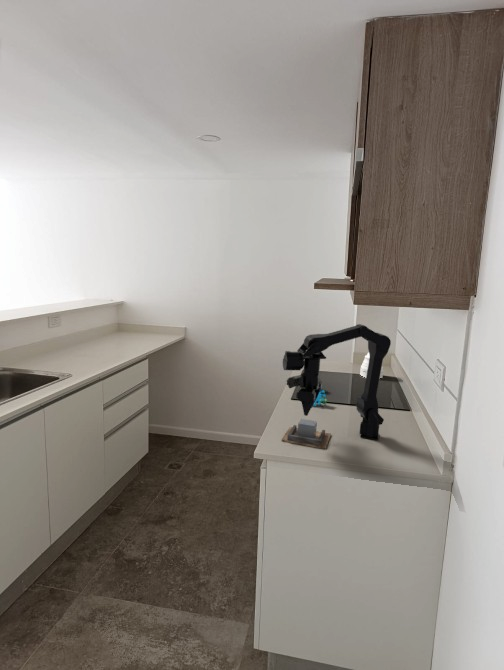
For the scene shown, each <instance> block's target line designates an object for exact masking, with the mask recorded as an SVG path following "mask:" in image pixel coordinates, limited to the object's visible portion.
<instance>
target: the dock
mask: <svg viewBox="0 0 504 670" xmlns="http://www.w3.org/2000/svg"><path fill="white" fill-rule="evenodd" d="M297 435H298V425H296V424H293V426H289V428H288V429H287V430H286V432H285V433H284V435H283V437H282V438H281V442H285V443H289V444H290V443H291V444H297V445H300V446H302V445H303V446H308V447H312V448H319V449H323V450H326V448H327V446H328V443H329V440H330V438H331V435H332V433H329V432H326V430H325V429H322V430H321V431H319V430H318V431H317V430H316V436H315V438H314V439H313V438H307V437H301V436H297Z"/></svg>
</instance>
